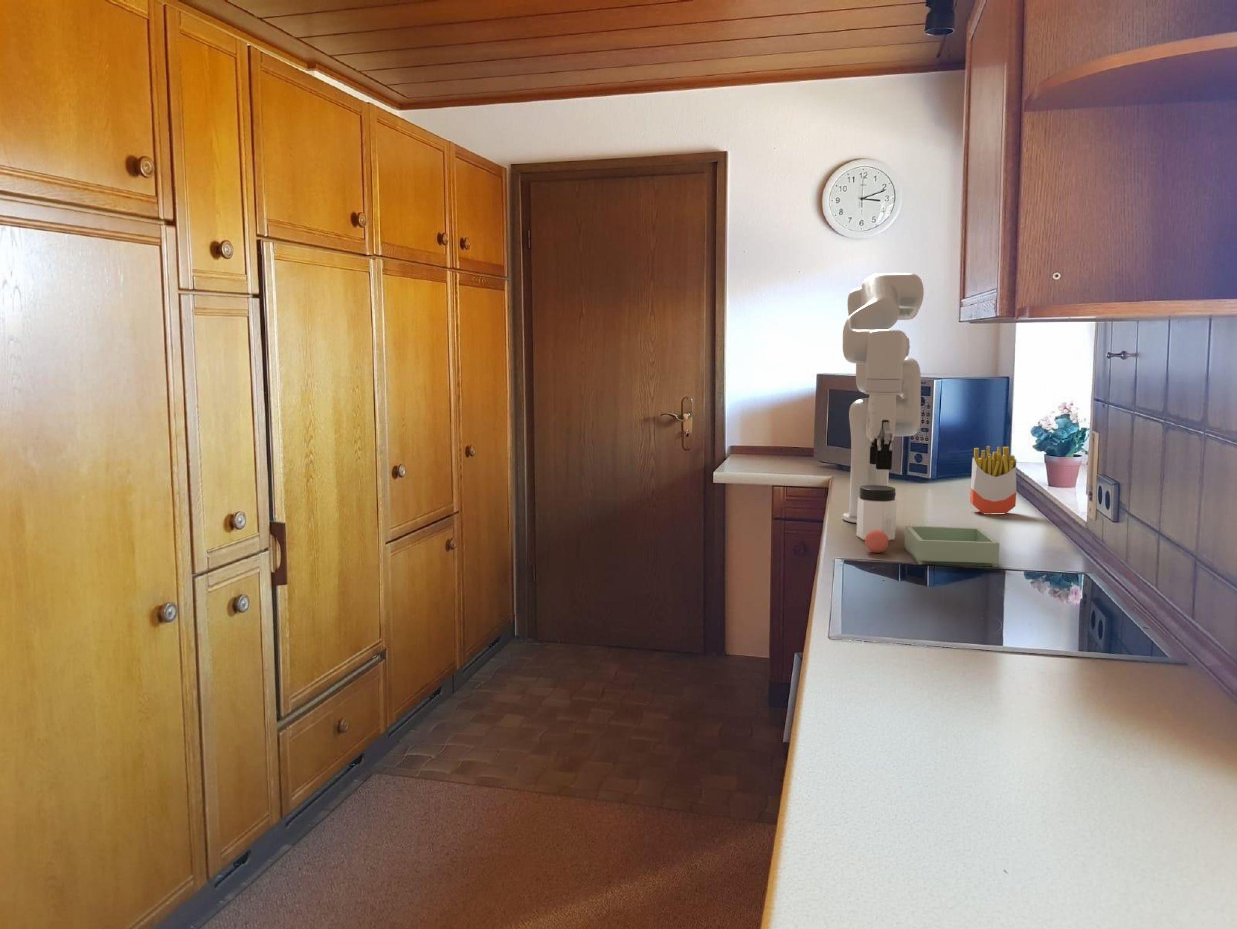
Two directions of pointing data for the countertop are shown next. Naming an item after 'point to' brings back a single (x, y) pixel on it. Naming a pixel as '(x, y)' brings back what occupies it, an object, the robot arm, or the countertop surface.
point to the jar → (876, 510)
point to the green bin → (951, 546)
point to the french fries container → (993, 481)
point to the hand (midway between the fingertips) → (880, 466)
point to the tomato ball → (876, 541)
